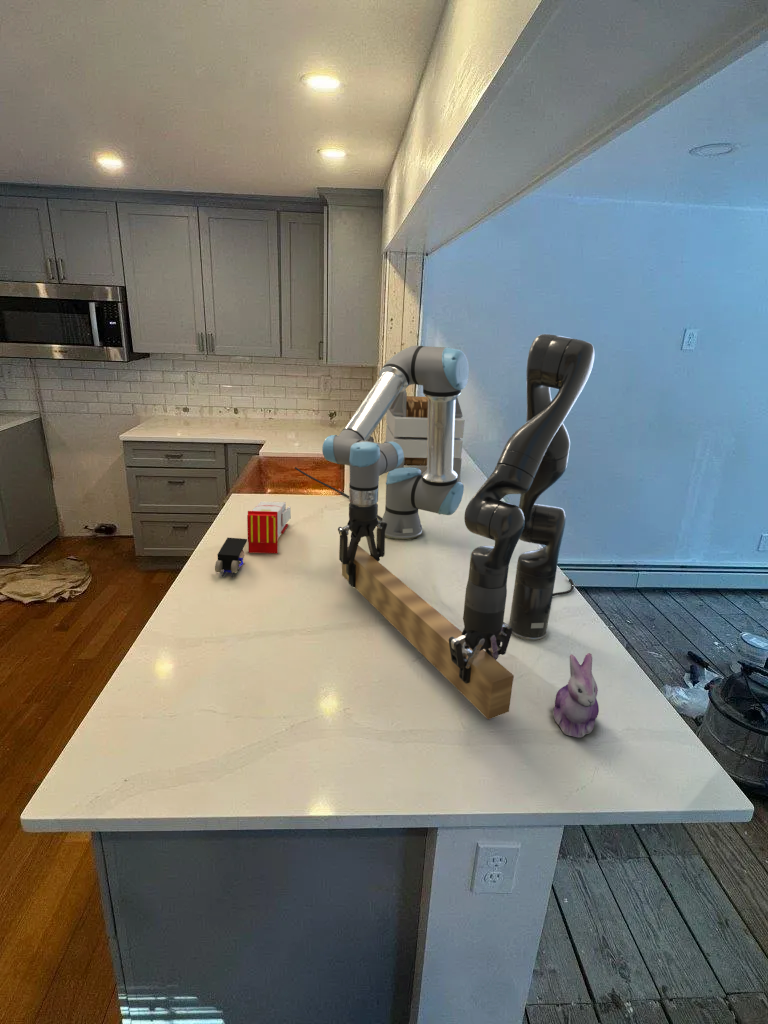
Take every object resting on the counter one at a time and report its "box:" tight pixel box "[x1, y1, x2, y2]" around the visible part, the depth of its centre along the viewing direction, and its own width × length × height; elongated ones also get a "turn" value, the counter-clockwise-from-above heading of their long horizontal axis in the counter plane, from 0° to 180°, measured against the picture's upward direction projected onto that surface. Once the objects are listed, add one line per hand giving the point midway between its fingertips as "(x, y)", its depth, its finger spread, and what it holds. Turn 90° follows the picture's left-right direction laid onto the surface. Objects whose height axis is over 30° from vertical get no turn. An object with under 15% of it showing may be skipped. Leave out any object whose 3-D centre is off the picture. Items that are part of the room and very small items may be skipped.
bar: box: [341, 544, 515, 720], centre depth 133 cm, size 66×5×8 cm, turn 29°
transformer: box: [384, 389, 465, 482], centre depth 268 cm, size 34×33×41 cm
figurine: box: [553, 652, 600, 738], centre depth 108 cm, size 9×10×15 cm
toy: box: [246, 500, 292, 554], centre depth 190 cm, size 12×13×30 cm
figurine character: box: [214, 537, 248, 578], centre depth 166 cm, size 7×8×15 cm
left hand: (361, 582), depth 155 cm, fingers closed on bar, 5 cm apart
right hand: (476, 676), depth 112 cm, fingers closed on bar, 5 cm apart
